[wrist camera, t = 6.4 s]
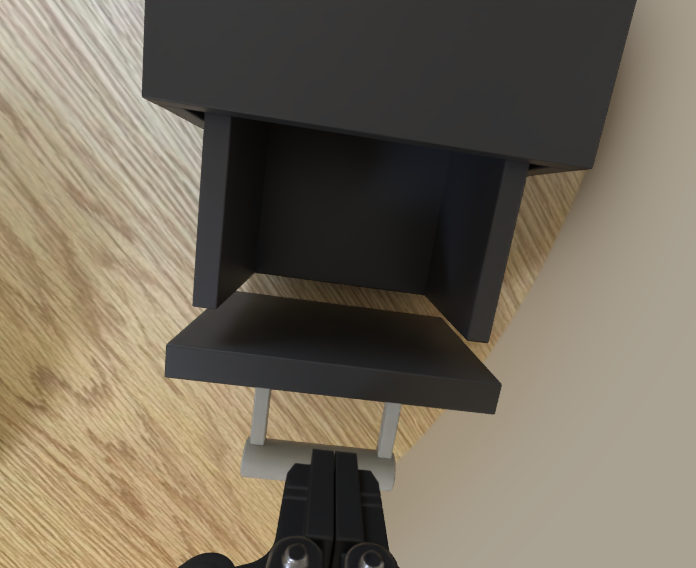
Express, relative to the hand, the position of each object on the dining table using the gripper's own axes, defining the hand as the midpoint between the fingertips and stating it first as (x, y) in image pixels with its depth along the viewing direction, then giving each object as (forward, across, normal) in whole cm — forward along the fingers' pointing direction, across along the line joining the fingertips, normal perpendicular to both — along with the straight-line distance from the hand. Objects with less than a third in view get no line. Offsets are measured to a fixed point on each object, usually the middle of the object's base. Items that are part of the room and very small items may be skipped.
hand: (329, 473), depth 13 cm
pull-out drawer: (+9, 0, -6) cm, 11 cm away
